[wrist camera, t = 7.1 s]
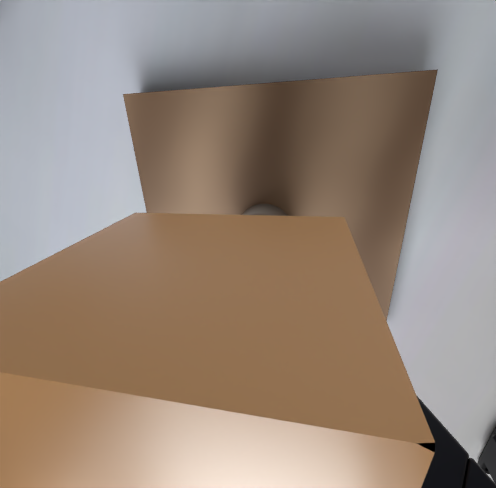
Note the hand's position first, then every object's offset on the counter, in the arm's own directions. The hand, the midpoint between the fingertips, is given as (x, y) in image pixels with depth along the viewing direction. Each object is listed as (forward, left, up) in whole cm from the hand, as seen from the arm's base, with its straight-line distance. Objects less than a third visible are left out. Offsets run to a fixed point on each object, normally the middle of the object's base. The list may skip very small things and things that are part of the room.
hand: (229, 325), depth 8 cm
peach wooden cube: (0, 0, -1) cm, 1 cm away
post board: (0, 0, -9) cm, 9 cm away
